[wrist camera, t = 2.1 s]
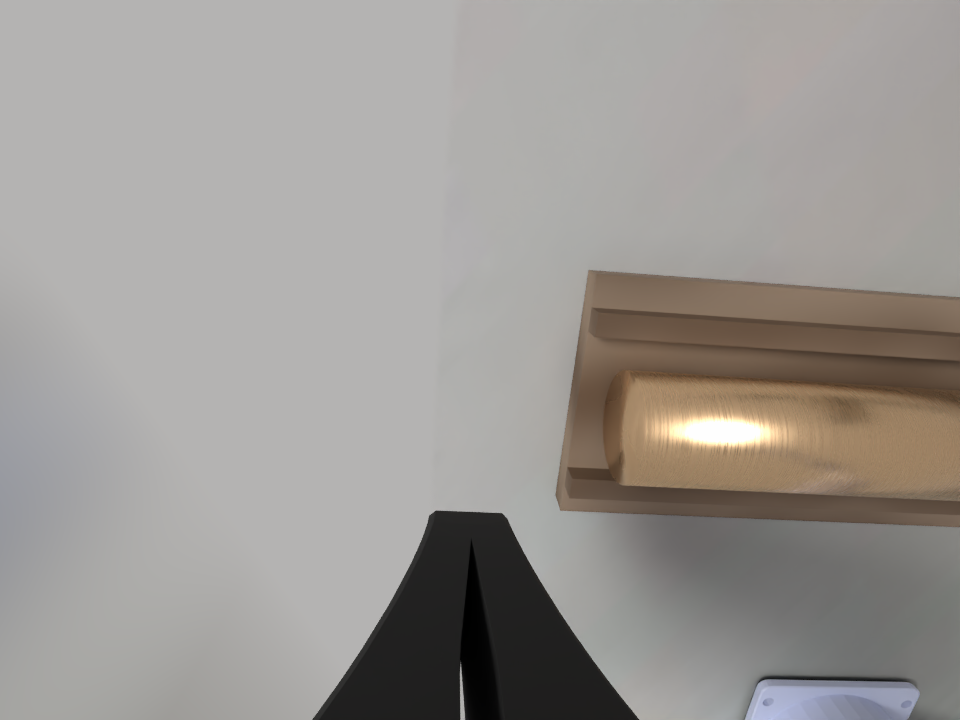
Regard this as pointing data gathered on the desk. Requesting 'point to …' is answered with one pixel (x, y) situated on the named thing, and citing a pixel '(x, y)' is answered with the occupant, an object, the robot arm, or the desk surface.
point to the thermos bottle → (782, 436)
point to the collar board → (752, 354)
